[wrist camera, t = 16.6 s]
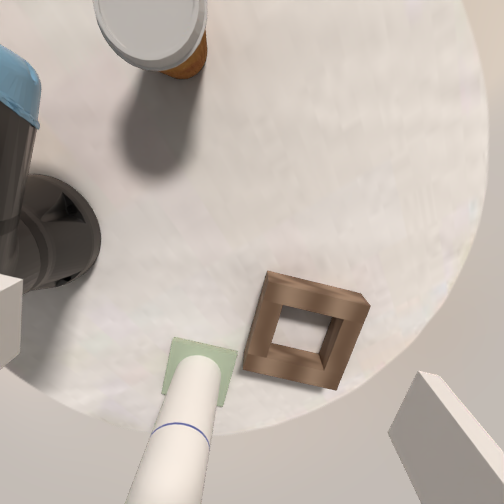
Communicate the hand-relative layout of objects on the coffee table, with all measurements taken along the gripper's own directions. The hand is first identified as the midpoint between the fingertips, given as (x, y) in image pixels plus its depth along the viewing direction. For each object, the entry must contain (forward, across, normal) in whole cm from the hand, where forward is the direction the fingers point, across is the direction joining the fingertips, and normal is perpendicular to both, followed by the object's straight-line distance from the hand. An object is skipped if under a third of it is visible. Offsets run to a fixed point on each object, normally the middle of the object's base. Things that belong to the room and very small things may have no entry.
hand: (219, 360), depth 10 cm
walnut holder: (+33, +12, -15) cm, 38 cm away
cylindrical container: (+32, -1, -27) cm, 42 cm away
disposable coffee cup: (+33, -12, +16) cm, 39 cm away
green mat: (+33, -1, -27) cm, 42 cm away
